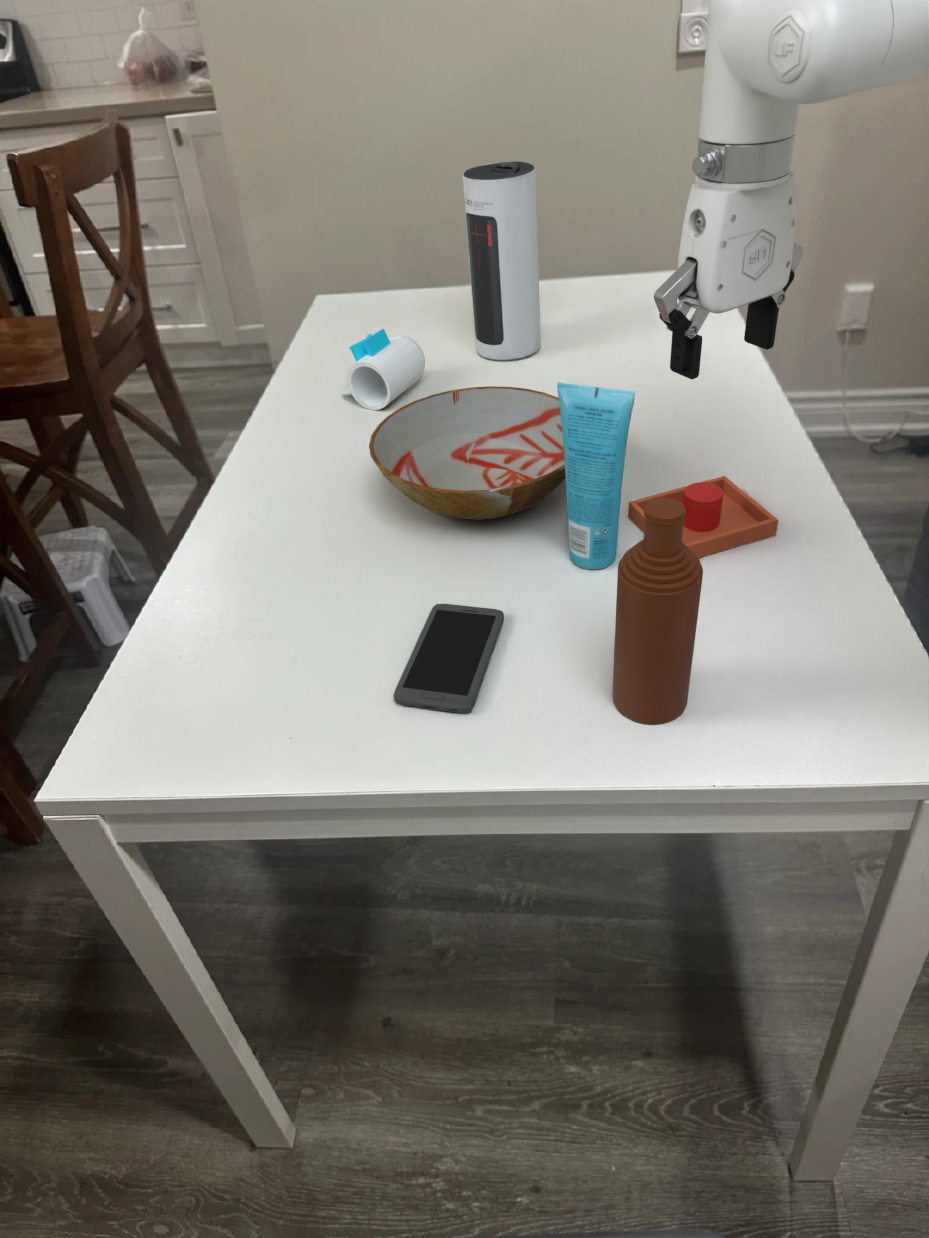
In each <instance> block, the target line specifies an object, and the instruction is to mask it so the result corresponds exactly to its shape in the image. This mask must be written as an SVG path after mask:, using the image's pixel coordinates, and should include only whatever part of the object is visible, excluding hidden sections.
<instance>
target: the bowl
mask: <svg viewBox="0 0 929 1238" xmlns="http://www.w3.org/2000/svg"><path fill="white" fill-rule="evenodd" d="M368 450H369V454H370V458H371V459H372V461H373V462H374V464H375V465H376V468H378V470H379V471H380V472H381V473H382V475H383V477H384V478H386V480H387V481H388V482H389V483H390V484H391V485H392V486H393V487H394V488H395V489H397V490H398V491H399V492H400V493H401V494H403V495H404V496H405V497H406V498H407V499H408V500H410V501H412V502H413V503H415V504H417V505H419V506H420V507H422V508H425V509H426V510H429V511H430V512H433V513H435V514H438V515H442V516H445V517H446V516H447V517H450V518H451V517H452V518H456V519H464V520H477V521H479V520H491V519H497V518H502V517H506V516H509V515H512V514H516V513H518V512H522V511H523V510H526V509H528V508H530V507H533V506H535V505H536V504H537V503H540V502H541V501H543V500H544V499H546V498H547V497H548V496H549V495H551V494H552V493H553V492H554V491H555V490H556V489H557V488H558V487H560V485H562V484H563V483H564V481H566V475H565V460H564V446H563V433H562V423H561V412H560V404H559V397H558V396H555V395H553V394H550V393H547V392H543V391H539V390H534V389H530V388H522V387H514V386H491V385H490V386H489V385H488V386H473V387H472V386H471V387H465V388H459V389H451V390H446V391H443V392H439V393H434V394H431V395H427V396H425V397H422V398H419V399H416V400H413V401H411V402H410V403H407V404H405V405H403V406H400V407H399V408H398V409H396V410H394V411H393V412H391V413H390V414H388V415H386V417H385V418H384V419H383V420H382V421H381V422H380V423H379V424H377V426H376V428H375V429H374V431H373V432H372V433H371V436H370V439H369V444H368Z"/></svg>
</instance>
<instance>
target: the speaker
mask: <svg viewBox="0 0 929 1238" xmlns="http://www.w3.org/2000/svg"><path fill="white" fill-rule="evenodd" d="M462 184H463V185H462V186H463V199H464V211H465V224H466V225H465V226H466V238H467V250H468V263H469V264H468V265H469V276H470V289H471V301H472V314H473V327H474V339H475V351H476V353H477V354H478V355H479V356H480V357H482V358H483V359H486V360H490V361H496V362H498V361H499V362H507V361H518V360H523V359H525V358H527V359H528V358H530V357H532V356H534V355H535V354H537V353H538V352H539V351H540V349H541V346H542V335H541V332H542V331H541V304H540V303H541V299H540V270H539V268H540V267H539V244H538V243H539V239H538V208H537V204H538V203H537V177H536V166H535V165H533V164H532V163H529V162H525V161H503V162H493V163H485V164H480V165H477V166H473V167H470V168H468V169H465V170H464V171H463V172H462Z"/></svg>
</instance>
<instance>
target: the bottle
mask: <svg viewBox="0 0 929 1238" xmlns="http://www.w3.org/2000/svg"><path fill="white" fill-rule="evenodd" d="M685 515H686V510H685V507H684V505H683V504H682V503H681V502H679V501H677V500H675V499H671V498H658V499H654V500H652V501H650V502H649V503H648V504H647V505H646V506H645V507H644V516H645V524H644V533H643V539H642V540H639V542H637V543H636V544H634V545H633V546H632V547H630V548H629V549H627V550H626V551H625V553H624V554H623V555H622V557H621V558H620V560H619V562H618V565H617V579H616V580H617V581H616V600H615V601H616V603H615V621H614V622H615V625H614V644H613V645H614V647H613V667H612V670H613V671H612V692H611V693H612V695H611V696H612V697H611V698H612V699H611V700H612V703H613V705H614V707H615V709H616V710H617V711H618V712H619V713H620V714H621V715H622V716H623V717H625V718H626V719H628V720H630V721H632V722H634V723H638V724H643V725H650V726H654V725H664V724H667V723H670V722H673V721H674V720H676V719H678V718H679V717H681V716H682V714H684V712H685V710H686V709H687V705H688V699H689V692H690V682H691V674H692V668H693V667H692V666H693V658H694V651H695V650H694V649H695V642H696V634H697V627H698V626H697V625H698V617H699V610H700V602H701V593H702V585H703V576H704V568H703V565H702V563H701V560H700V558H698V557H697V555H696V554H695V553H694V552H692V551H691V550H690V549H689V548H688V547H687V546H686V545H685V544H684V543H683V542H682V534H683V524H684V517H685Z"/></svg>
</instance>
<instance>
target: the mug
mask: <svg viewBox="0 0 929 1238" xmlns="http://www.w3.org/2000/svg"><path fill="white" fill-rule="evenodd" d="M348 348H349V350H350V353H351V354H352V356H353V358H354V361H355V362H354V363H353V364H351V365H350V367H348V370H347V373H346V374H347V375H346V385H345V387H344V388H343V389H342V390H341V395H342V396H345V397H349V396H352V397H353V399H354V400H355V401H356V402H357V403H358V404H359V405H360V406H362V407H364V408H365V409H367V410H372V411H380V410H382V409H384V408H385V407H387V406H388V405H389V404H390V403H392V402H393V401H394V400H395V399H396V398H398V397H399V396H400V395H402V394H403V393H404V392H405V391H407V390H408V389H409V388H410V387H411V386H412V385H414V384H415V383H416V382H418V381H419V380H420V378H421V377H422V376H423V374H424V372H425V368H426V358H425V354H424V351H423V349H422V347H421V346H420V344H419V343H418V342H416V341H415V340H414V339H413V338H411V337H408V336H406V335H394V336H391V337H388V334H387V332H386V331H385V328H381V329H380V330H378V331H376V332H375V333H373V334H372V333H369V334H367V335H366V337H365V338H364V339H361V340H360V341H358V342H355V343H354V344H352V345H351V346H349V347H348Z"/></svg>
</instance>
